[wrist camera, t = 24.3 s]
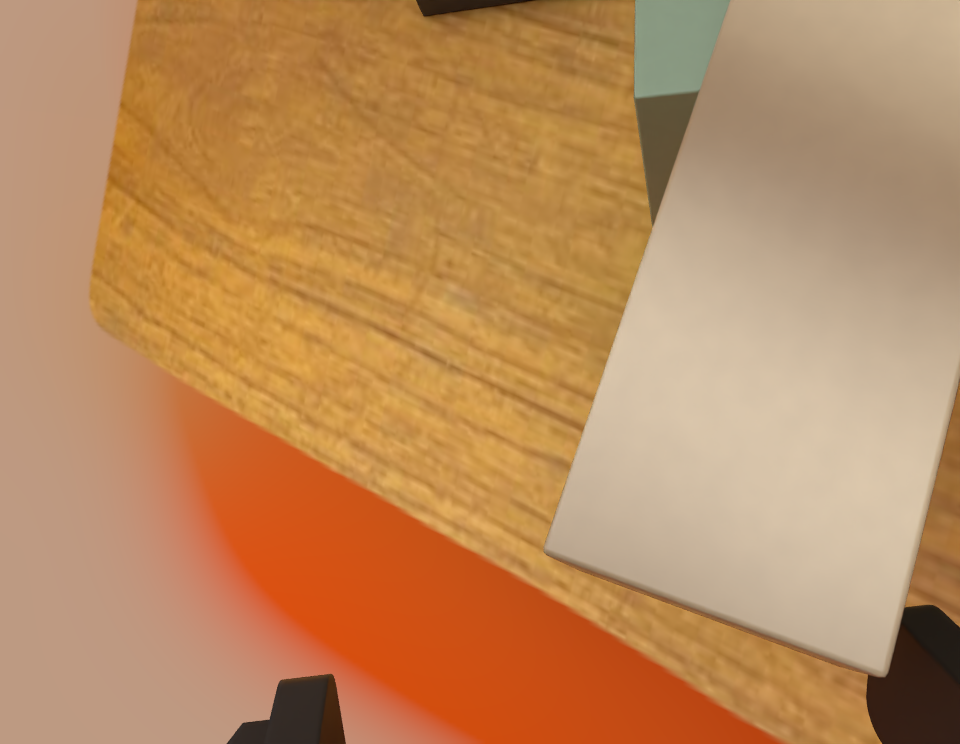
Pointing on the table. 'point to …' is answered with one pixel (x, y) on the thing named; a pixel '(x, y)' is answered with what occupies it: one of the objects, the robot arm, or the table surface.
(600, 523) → the ash stick
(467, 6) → the stand
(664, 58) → the green block
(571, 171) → the table surface
